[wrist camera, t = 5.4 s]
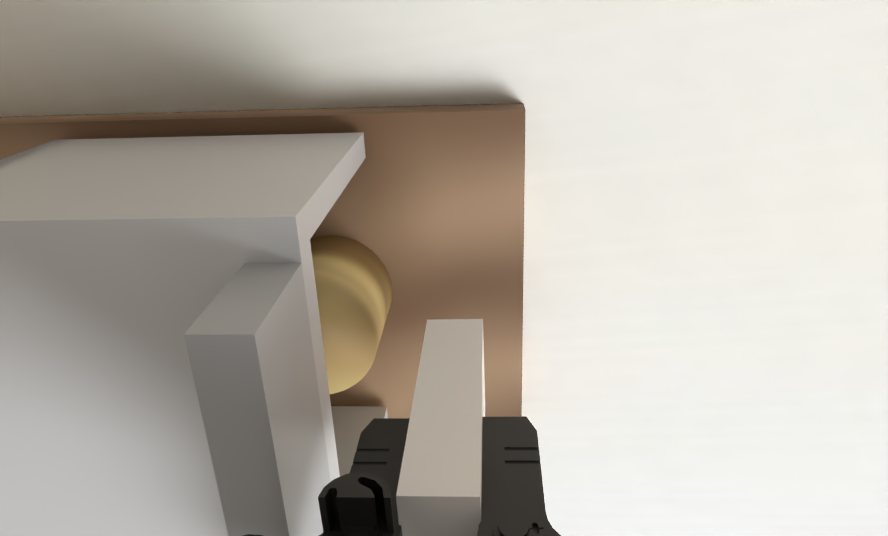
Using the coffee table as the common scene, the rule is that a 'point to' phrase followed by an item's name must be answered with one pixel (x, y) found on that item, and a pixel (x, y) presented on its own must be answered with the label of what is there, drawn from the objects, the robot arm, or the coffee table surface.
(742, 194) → the coffee table surface
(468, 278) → the pattern board
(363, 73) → the coffee table surface
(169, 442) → the cover
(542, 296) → the coffee table surface
